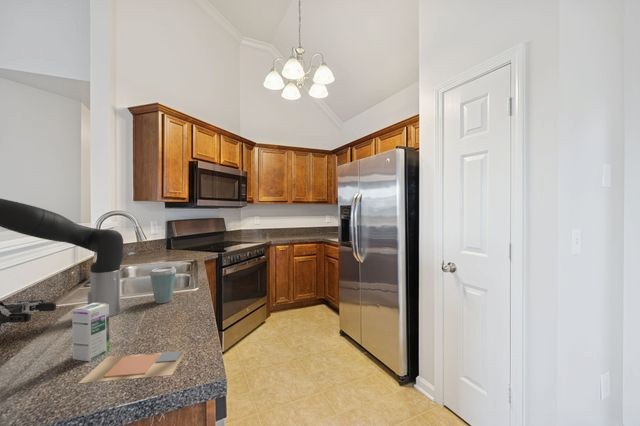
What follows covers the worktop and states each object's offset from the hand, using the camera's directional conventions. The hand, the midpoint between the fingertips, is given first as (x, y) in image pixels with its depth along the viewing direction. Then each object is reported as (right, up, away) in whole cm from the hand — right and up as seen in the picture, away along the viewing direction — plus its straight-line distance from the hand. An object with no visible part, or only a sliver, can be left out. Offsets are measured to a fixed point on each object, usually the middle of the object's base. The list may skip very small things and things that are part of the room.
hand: (43, 311), depth 75 cm
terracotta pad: (+26, -13, -3) cm, 29 cm away
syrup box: (+11, -14, +2) cm, 18 cm away
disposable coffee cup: (+3, -14, +52) cm, 54 cm away
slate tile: (+33, -13, +1) cm, 35 cm away
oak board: (+27, -14, -3) cm, 31 cm away
